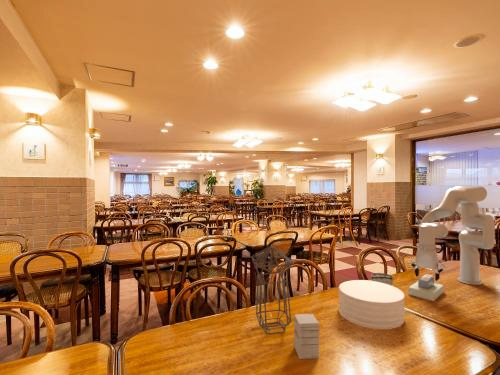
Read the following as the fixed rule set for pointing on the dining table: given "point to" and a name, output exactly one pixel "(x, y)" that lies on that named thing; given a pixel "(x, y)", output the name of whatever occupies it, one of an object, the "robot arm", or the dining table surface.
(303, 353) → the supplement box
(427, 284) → the housing base
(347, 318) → the plate stack
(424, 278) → the cover
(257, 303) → the geometric lantern
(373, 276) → the food container
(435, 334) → the dining table surface
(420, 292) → the stand
